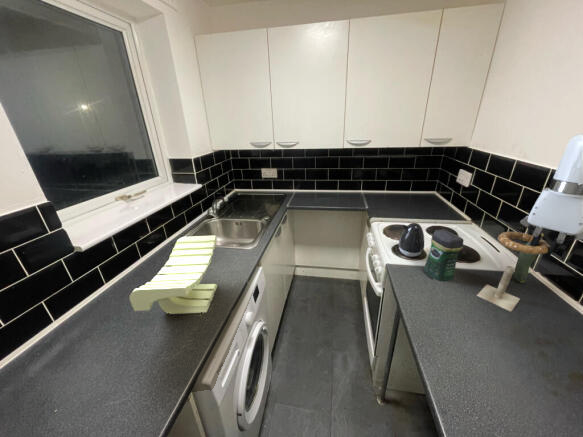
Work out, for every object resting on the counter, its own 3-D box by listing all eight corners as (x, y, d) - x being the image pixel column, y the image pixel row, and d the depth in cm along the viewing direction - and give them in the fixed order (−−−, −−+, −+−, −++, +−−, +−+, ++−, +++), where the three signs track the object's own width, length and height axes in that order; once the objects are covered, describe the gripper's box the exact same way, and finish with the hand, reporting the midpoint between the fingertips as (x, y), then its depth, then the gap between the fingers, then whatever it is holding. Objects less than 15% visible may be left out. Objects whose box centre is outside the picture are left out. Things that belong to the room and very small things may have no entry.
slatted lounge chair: (185, 274, 97) (175, 237, 90) (223, 272, 97) (215, 235, 90) (145, 336, 70) (125, 290, 62) (197, 334, 70) (184, 287, 62)
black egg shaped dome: (394, 247, 109) (398, 218, 103) (417, 248, 108) (423, 218, 102) (400, 259, 100) (405, 228, 94) (425, 260, 99) (433, 229, 92)
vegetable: (511, 283, 84) (532, 235, 76) (506, 275, 88) (526, 229, 79) (527, 285, 82) (550, 237, 74) (521, 278, 86) (543, 231, 78)
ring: (551, 247, 66) (555, 240, 65) (542, 260, 60) (546, 253, 59) (504, 233, 74) (506, 227, 73) (492, 244, 69) (494, 237, 68)
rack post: (518, 301, 76) (534, 268, 71) (509, 314, 71) (526, 280, 66) (485, 286, 83) (497, 256, 77) (475, 297, 78) (487, 266, 73)
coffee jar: (456, 281, 86) (470, 238, 78) (437, 284, 85) (450, 241, 77) (437, 266, 95) (448, 226, 87) (420, 269, 93) (429, 228, 86)
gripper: (627, 191, 52) (588, 258, 60) (531, 178, 64) (508, 236, 72) (626, 199, 48) (583, 269, 56) (523, 183, 61) (500, 243, 68)
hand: (541, 250), depth 64 cm, fingers closed on ring, 2 cm apart
